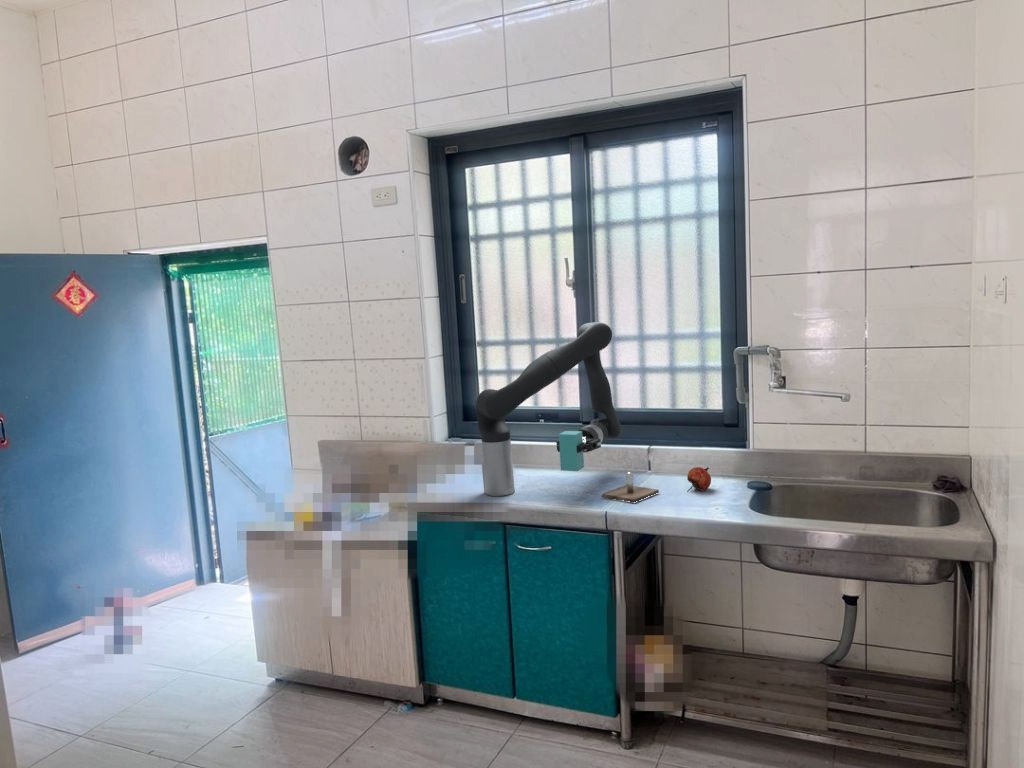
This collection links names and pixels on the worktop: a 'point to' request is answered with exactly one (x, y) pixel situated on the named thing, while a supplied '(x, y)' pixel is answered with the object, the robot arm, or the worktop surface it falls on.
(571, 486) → the worktop surface
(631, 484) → the post
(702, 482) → the pomegranate
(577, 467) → the block
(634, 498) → the base plate
